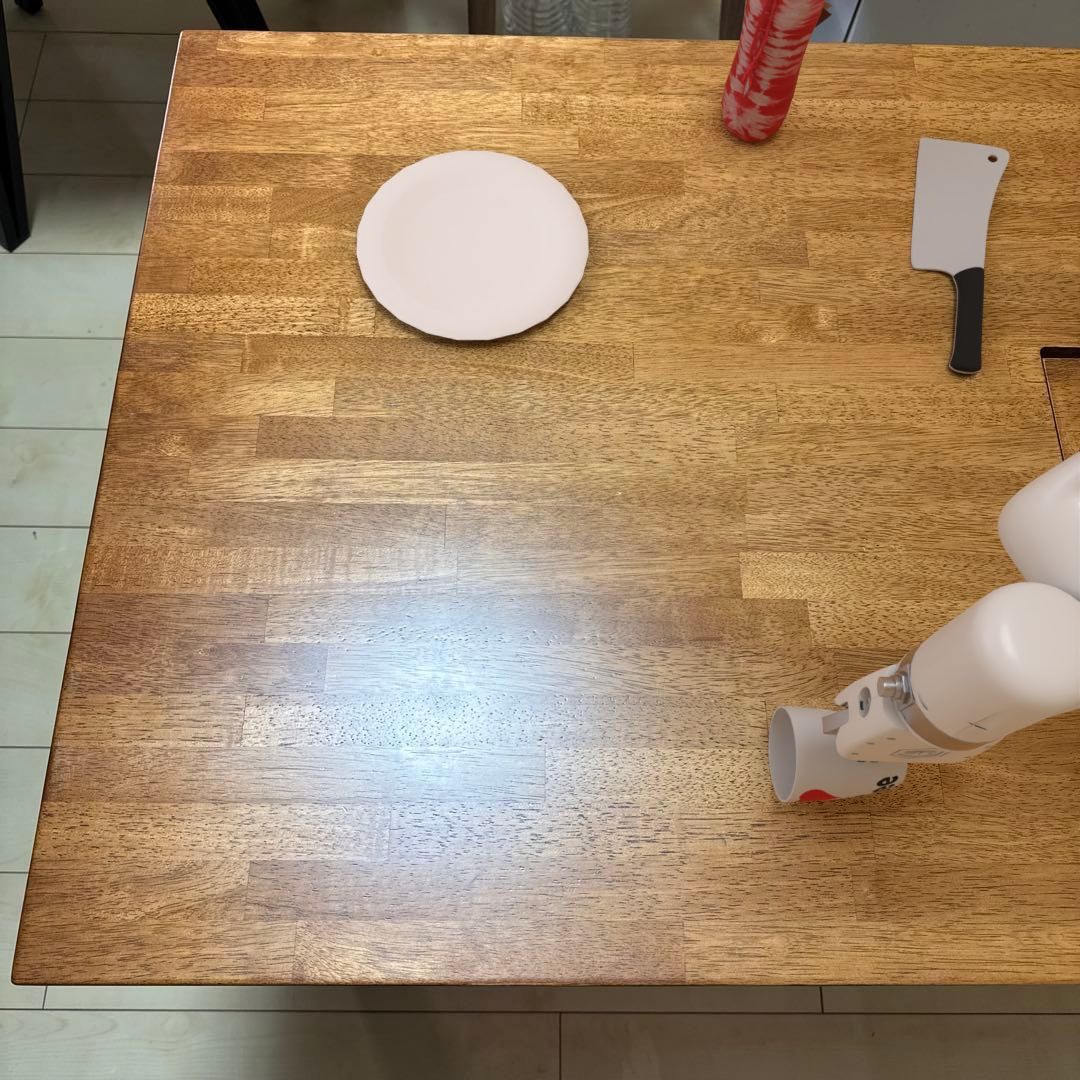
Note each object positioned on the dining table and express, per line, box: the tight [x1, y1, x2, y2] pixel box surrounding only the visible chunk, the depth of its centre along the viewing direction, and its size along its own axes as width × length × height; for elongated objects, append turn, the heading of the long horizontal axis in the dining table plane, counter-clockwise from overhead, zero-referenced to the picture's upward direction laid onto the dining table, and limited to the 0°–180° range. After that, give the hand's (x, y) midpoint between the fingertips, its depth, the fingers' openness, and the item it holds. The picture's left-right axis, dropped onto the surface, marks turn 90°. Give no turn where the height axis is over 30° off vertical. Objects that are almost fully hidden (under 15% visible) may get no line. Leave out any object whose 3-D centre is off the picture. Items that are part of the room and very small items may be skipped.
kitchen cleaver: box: [910, 137, 1011, 377], centre depth 112 cm, size 31×2×10 cm
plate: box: [355, 150, 590, 342], centre depth 110 cm, size 25×25×2 cm
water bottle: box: [720, 0, 833, 143], centre depth 107 cm, size 12×8×25 cm, turn 140°
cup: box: [767, 705, 909, 803], centre depth 88 cm, size 8×8×10 cm
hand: (864, 743), depth 84 cm, fingers closed
